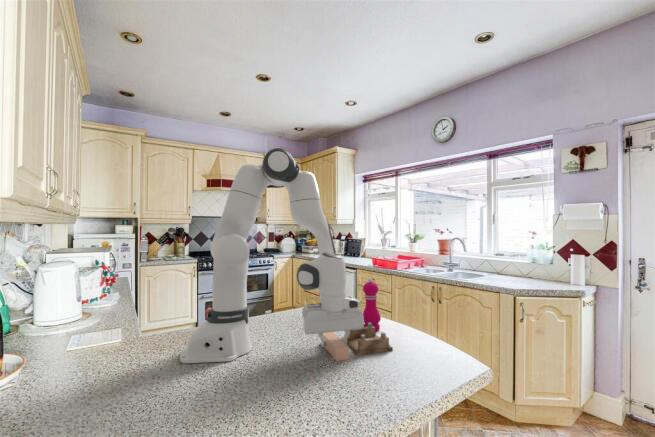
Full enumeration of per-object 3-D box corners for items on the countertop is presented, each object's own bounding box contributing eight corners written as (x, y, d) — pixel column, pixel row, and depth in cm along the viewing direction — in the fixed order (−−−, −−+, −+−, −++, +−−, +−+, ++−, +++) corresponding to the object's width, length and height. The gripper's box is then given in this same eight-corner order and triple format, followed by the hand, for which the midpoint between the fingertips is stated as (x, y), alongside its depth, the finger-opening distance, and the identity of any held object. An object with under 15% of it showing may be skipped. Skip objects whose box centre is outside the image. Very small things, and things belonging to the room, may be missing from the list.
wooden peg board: (357, 355, 100) (357, 337, 100) (344, 340, 113) (343, 324, 113) (392, 350, 103) (392, 333, 103) (375, 336, 116) (374, 321, 116)
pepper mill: (382, 332, 121) (380, 279, 121) (363, 332, 121) (362, 279, 122) (379, 326, 128) (378, 276, 129) (361, 326, 128) (360, 276, 129)
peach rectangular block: (336, 362, 96) (336, 348, 96) (321, 343, 111) (321, 332, 111) (348, 360, 97) (348, 347, 97) (332, 342, 112) (332, 331, 112)
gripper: (304, 307, 99) (304, 352, 98) (365, 301, 104) (366, 344, 104) (300, 302, 105) (301, 344, 104) (358, 297, 110) (359, 338, 110)
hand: (334, 344), depth 104 cm, fingers open, 5 cm apart
